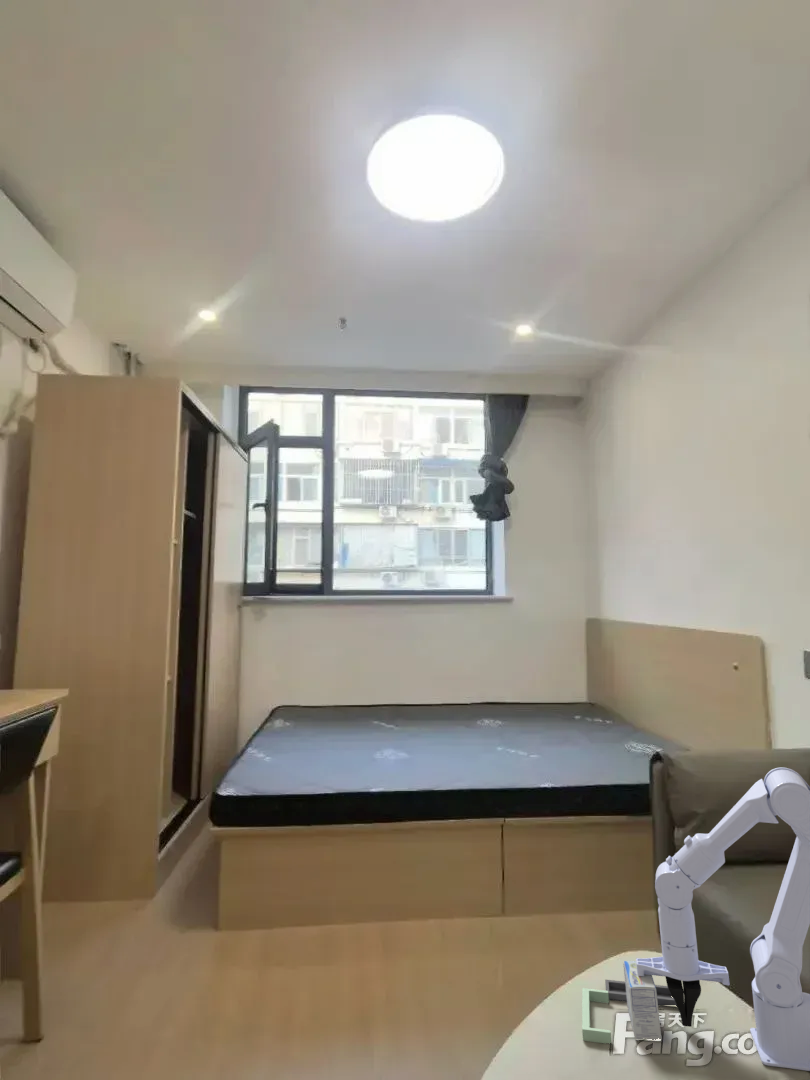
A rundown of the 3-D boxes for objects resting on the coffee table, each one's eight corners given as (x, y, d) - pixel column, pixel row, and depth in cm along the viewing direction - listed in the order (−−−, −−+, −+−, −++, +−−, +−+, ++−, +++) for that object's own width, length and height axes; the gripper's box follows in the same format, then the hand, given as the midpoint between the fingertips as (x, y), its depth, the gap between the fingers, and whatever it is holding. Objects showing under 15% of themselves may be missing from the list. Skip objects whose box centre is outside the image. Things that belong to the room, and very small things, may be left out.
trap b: (633, 989, 117) (632, 982, 117) (635, 1002, 113) (634, 995, 113) (605, 986, 118) (605, 979, 118) (606, 999, 114) (605, 992, 115)
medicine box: (662, 1043, 103) (657, 988, 104) (634, 1041, 104) (629, 986, 104) (653, 1011, 111) (648, 960, 111) (627, 1010, 111) (622, 959, 112)
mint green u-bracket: (608, 1001, 114) (608, 990, 114) (611, 1044, 103) (610, 1032, 103) (583, 998, 115) (582, 987, 115) (583, 1040, 104) (582, 1029, 105)
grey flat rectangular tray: (675, 993, 115) (675, 986, 115) (679, 1007, 111) (678, 1000, 111) (647, 990, 116) (646, 983, 116) (649, 1004, 112) (648, 997, 113)
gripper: (719, 930, 108) (727, 1012, 107) (632, 922, 112) (639, 1002, 111) (728, 952, 102) (737, 1040, 100) (635, 944, 106) (642, 1028, 104)
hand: (686, 1022), depth 105 cm, fingers closed
